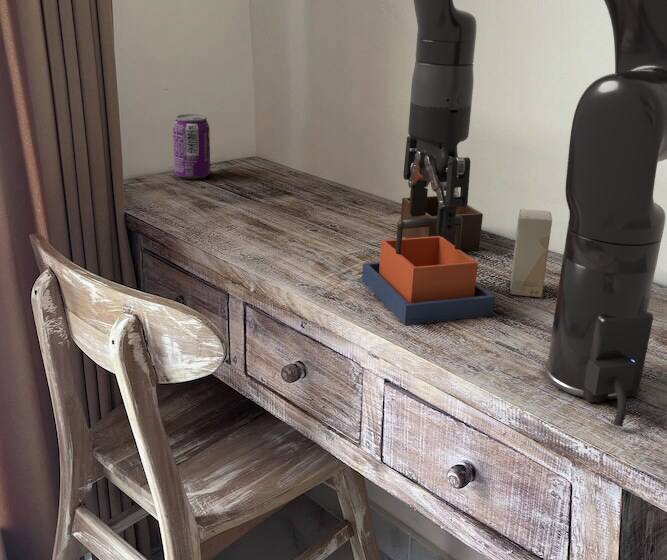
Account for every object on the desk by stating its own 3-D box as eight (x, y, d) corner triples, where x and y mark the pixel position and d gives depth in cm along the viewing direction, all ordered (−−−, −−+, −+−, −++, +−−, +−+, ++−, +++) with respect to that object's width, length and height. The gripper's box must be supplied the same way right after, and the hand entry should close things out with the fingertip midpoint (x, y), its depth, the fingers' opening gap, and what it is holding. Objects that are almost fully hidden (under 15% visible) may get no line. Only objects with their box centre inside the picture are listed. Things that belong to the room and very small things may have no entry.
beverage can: (217, 175, 165) (216, 116, 161) (194, 182, 160) (192, 121, 155) (191, 170, 169) (189, 112, 164) (167, 176, 163) (165, 117, 159)
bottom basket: (479, 250, 129) (483, 213, 126) (427, 254, 126) (430, 217, 124) (448, 229, 138) (451, 194, 136) (399, 232, 135) (402, 197, 133)
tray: (492, 315, 105) (495, 296, 104) (404, 325, 101) (406, 306, 100) (441, 273, 119) (442, 256, 118) (361, 280, 115) (362, 263, 114)
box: (541, 298, 111) (552, 221, 107) (509, 295, 112) (519, 218, 107) (540, 284, 116) (551, 210, 112) (509, 281, 116) (519, 207, 112)
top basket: (473, 305, 106) (482, 228, 102) (409, 312, 103) (415, 233, 100) (437, 275, 116) (444, 204, 112) (377, 281, 113) (382, 207, 109)
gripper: (391, 91, 105) (383, 211, 111) (438, 110, 93) (427, 245, 99) (443, 90, 108) (433, 208, 114) (496, 109, 95) (482, 240, 101)
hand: (430, 225), depth 106 cm, fingers open, 8 cm apart
